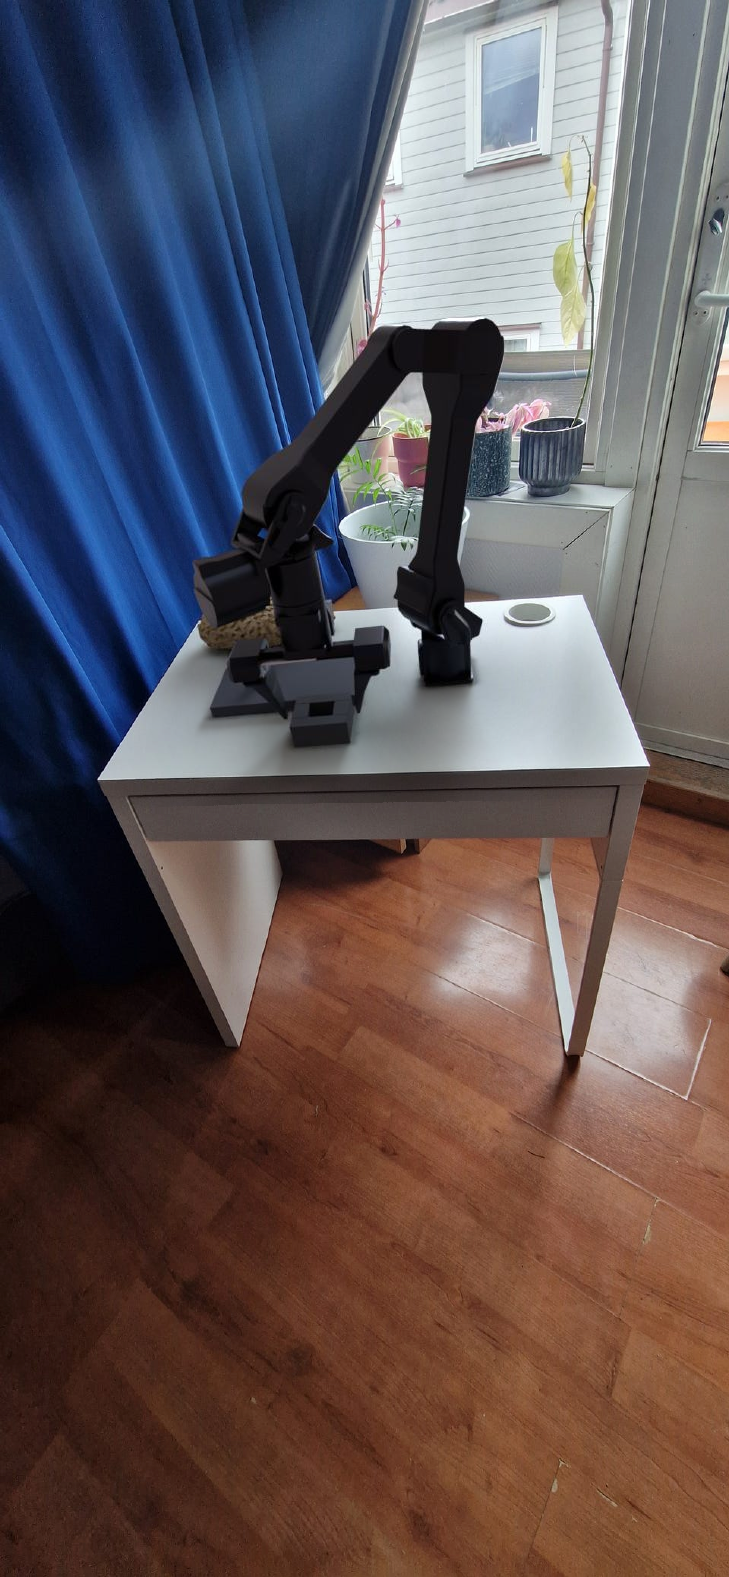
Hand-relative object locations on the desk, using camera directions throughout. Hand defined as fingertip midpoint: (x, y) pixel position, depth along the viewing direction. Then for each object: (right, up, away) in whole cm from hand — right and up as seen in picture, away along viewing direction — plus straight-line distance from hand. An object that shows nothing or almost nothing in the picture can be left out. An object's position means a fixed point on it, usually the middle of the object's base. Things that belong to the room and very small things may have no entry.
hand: (322, 714), depth 81 cm
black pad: (0, -2, +1) cm, 2 cm away
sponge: (-9, +15, +23) cm, 29 cm away
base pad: (-5, +5, +10) cm, 13 cm away
